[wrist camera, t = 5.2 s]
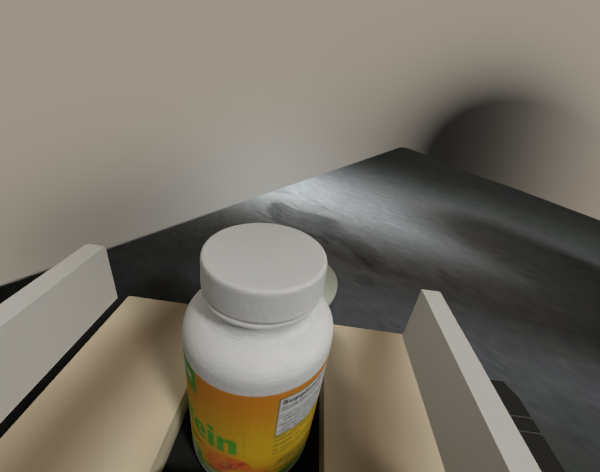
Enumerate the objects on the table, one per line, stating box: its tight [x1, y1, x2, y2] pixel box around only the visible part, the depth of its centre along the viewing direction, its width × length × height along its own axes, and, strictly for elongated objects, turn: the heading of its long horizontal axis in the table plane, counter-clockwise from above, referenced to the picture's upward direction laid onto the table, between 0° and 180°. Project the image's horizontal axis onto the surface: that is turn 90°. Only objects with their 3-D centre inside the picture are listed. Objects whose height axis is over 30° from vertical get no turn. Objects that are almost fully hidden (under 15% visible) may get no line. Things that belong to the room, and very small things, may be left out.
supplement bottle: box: [182, 223, 333, 472], centre depth 11 cm, size 5×5×10 cm
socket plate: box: [0, 296, 445, 472], centre depth 13 cm, size 18×11×2 cm, turn 86°
